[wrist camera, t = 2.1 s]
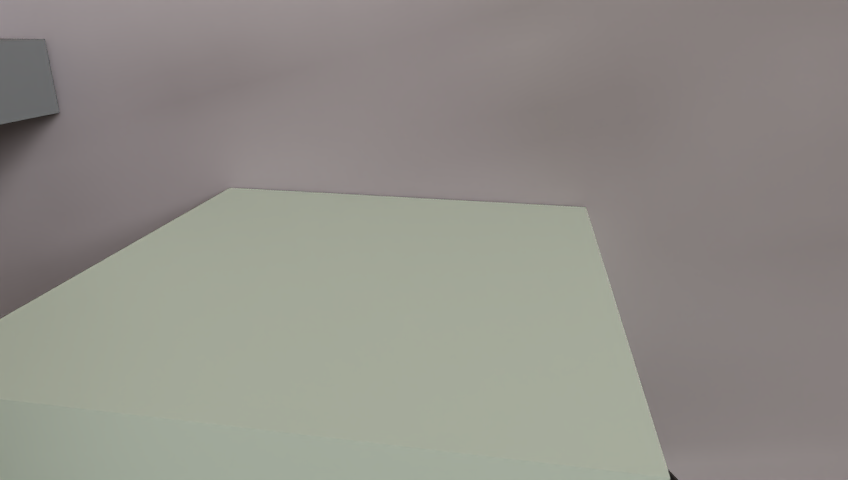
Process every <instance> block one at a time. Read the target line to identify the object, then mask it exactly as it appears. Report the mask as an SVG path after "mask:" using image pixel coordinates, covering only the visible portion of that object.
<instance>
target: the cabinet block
mask: <svg viewBox="0 0 848 480" xmlns="http://www.w3.org/2000/svg"><path fill="white" fill-rule="evenodd" d="M0 480H670V475H669V472H668V468H667V465H666V462H665V459H664V456H663V452H662V449H661V446H660V443H659V440H658V436H657V433H656V430H655V427H654V424H653V420H652V417H651V414H650V411H649V408H648V404H647V401H646V398H645V395H644V392H643V388H642V385H641V382H640V379H639V376H638V372H637V369H636V366H635V363H634V360H633V356H632V353H631V350H630V347H629V344H628V340H627V337H626V334H625V331H624V328H623V324H622V321H621V318H620V315H619V312H618V308H617V305H616V302H615V299H614V296H613V292H612V289H611V286H610V283H609V280H608V276H607V273H606V270H605V267H604V264H603V260H602V257H601V254H600V251H599V248H598V244H597V241H596V238H595V235H594V232H593V228H592V225H591V222H590V219H589V216H588V212H587V209H586V207H573V206H555V205H536V204H518V203H500V202H481V201H463V200H445V199H426V198H408V197H390V196H371V195H353V194H335V193H316V192H298V191H280V190H261V189H243V188H229V189H227V190H225V191H224V192H222V193H220V194H218V195H217V196H215V197H213V198H211V199H210V200H208V201H206V202H204V203H203V204H201V205H199V206H197V207H196V208H194V209H192V210H190V211H189V212H187V213H185V214H183V215H181V216H180V217H178V218H176V219H174V220H173V221H171V222H169V223H167V224H166V225H164V226H162V227H160V228H159V229H157V230H155V231H153V232H152V233H150V234H148V235H146V236H145V237H143V238H141V239H139V240H138V241H136V242H134V243H132V244H131V245H129V246H127V247H125V248H124V249H122V250H120V251H118V252H117V253H115V254H113V255H111V256H110V257H108V258H106V259H104V260H103V261H101V262H99V263H97V264H96V265H94V266H92V267H90V268H88V269H87V270H85V271H83V272H81V273H80V274H78V275H76V276H74V277H73V278H71V279H69V280H67V281H66V282H64V283H62V284H60V285H59V286H57V287H55V288H53V289H52V290H50V291H48V292H46V293H45V294H43V295H41V296H39V297H38V298H36V299H34V300H32V301H31V302H29V303H27V304H25V305H24V306H22V307H20V308H18V309H17V310H15V311H13V312H11V313H10V314H8V315H6V316H4V317H3V318H1V319H0Z"/></svg>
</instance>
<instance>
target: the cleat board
mask: <svg viewBox="0 0 848 480" xmlns="http://www.w3.org/2000/svg"><path fill="white" fill-rule="evenodd" d="M55 113H59V108H58V103H57V98H56V93H55V88H54V83H53V78H52V73H51V68H50V63H49V58H48V53H47V49H46V44H45V39H0V124H5V123H10V122H15V121H20V120H25V119H30V118H35V117H40V116H45V115H50V114H55Z"/></svg>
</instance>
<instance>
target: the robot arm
mask: <svg viewBox="0 0 848 480" xmlns="http://www.w3.org/2000/svg"><path fill="white" fill-rule="evenodd" d="M668 472H669V475H670V480H678V479H677V478H676V477H675V476H674V475H673V474H672V473H671V472H670V471H669V470H668Z"/></svg>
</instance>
